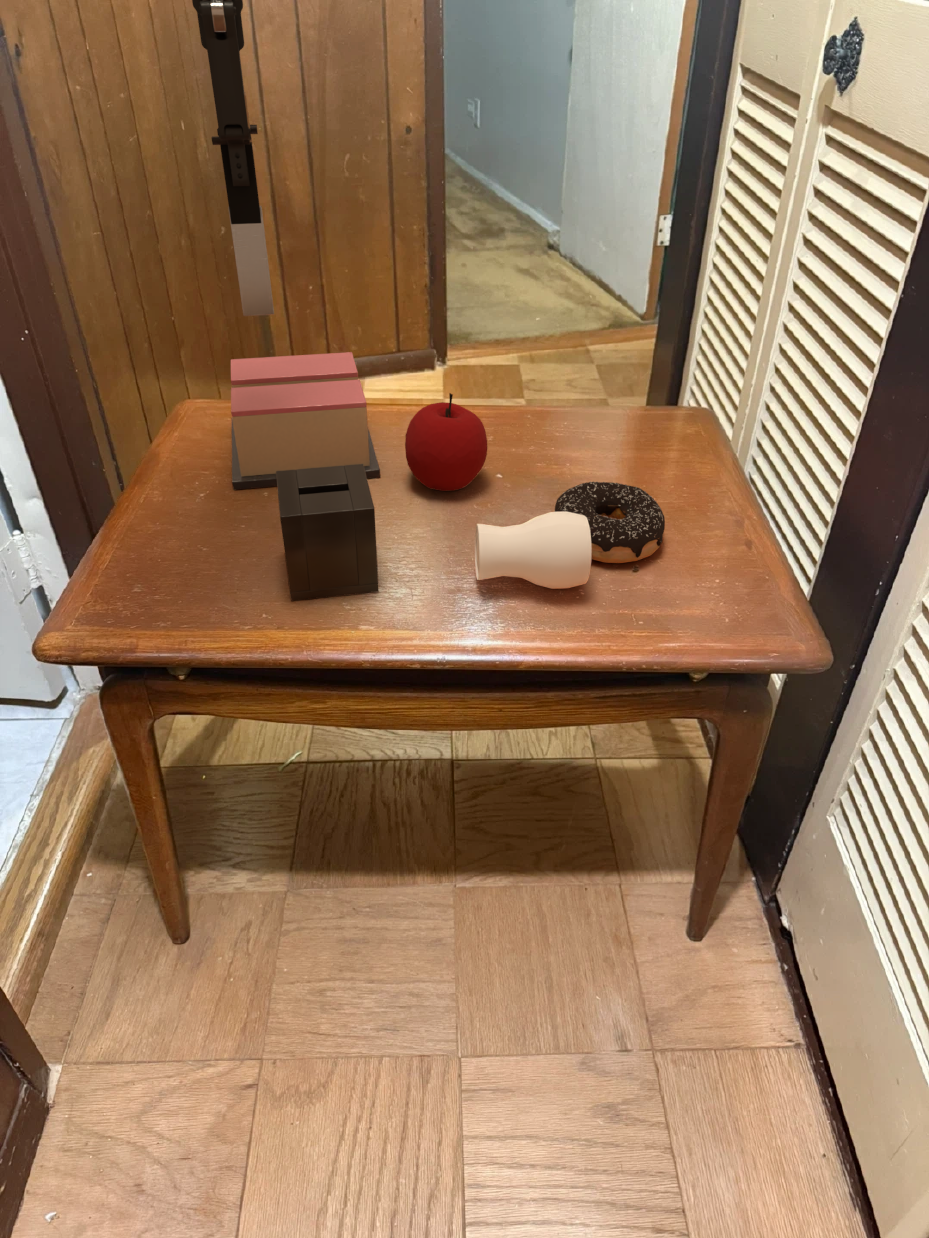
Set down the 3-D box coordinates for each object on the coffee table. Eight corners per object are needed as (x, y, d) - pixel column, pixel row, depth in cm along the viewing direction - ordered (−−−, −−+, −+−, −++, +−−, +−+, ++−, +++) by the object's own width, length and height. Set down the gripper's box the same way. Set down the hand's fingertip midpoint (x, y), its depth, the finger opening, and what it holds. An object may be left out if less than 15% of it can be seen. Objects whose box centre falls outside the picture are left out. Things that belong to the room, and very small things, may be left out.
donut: (629, 500, 94) (634, 467, 91) (684, 560, 85) (691, 525, 82) (534, 515, 91) (537, 482, 88) (581, 579, 82) (586, 544, 80)
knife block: (291, 601, 78) (279, 516, 73) (286, 552, 84) (275, 470, 79) (378, 591, 80) (374, 508, 74) (368, 544, 86) (363, 463, 80)
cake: (233, 490, 93) (220, 416, 88) (232, 424, 106) (221, 356, 100) (380, 477, 96) (377, 405, 91) (363, 415, 108) (359, 348, 103)
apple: (390, 472, 97) (387, 388, 91) (460, 454, 101) (462, 372, 95) (428, 510, 91) (428, 423, 85) (501, 490, 95) (506, 405, 88)
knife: (243, 319, 85) (212, 95, 73) (243, 312, 87) (212, 92, 75) (274, 317, 86) (248, 95, 74) (273, 310, 87) (248, 91, 75)
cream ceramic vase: (478, 606, 78) (586, 603, 79) (480, 541, 74) (596, 538, 75) (472, 561, 84) (573, 559, 85) (474, 498, 80) (581, 496, 80)
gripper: (255, -113, 61) (291, 240, 75) (252, -108, 72) (283, 198, 87) (144, -117, 59) (202, 243, 74) (158, -111, 71) (206, 200, 86)
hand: (246, 218), depth 81 cm, fingers closed on knife, 2 cm apart
